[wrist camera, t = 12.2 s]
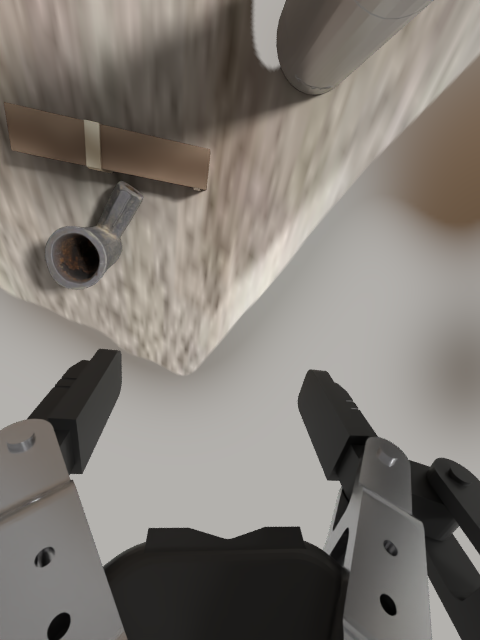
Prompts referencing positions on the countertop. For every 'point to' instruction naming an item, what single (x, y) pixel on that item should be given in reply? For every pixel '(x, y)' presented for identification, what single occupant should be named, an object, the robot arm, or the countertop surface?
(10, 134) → the banded brown beam
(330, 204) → the countertop surface
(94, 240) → the pipe
